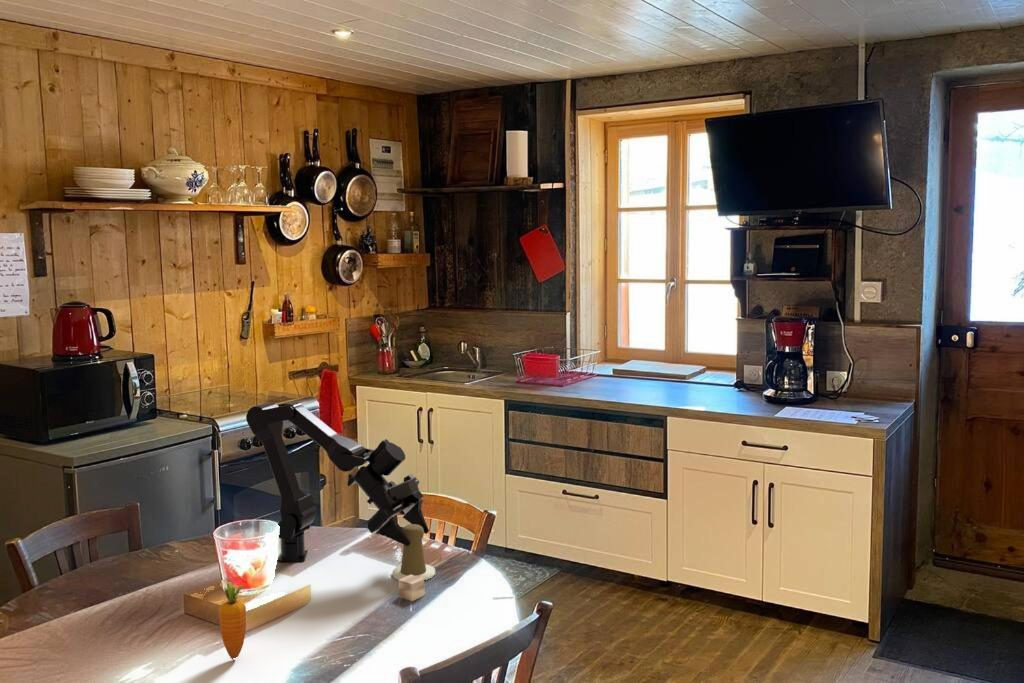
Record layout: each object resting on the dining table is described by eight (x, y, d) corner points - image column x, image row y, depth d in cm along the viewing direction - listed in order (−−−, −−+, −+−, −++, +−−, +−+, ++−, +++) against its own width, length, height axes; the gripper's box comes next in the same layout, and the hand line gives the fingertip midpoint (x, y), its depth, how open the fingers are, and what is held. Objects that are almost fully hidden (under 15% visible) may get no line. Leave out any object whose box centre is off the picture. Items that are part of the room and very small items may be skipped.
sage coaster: (393, 567, 216) (393, 564, 216) (435, 565, 217) (435, 562, 217) (391, 583, 206) (391, 579, 206) (435, 581, 207) (435, 578, 207)
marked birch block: (398, 597, 198) (398, 579, 198) (410, 591, 201) (410, 574, 201) (412, 601, 196) (412, 584, 195) (424, 595, 199) (424, 578, 198)
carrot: (223, 654, 171) (220, 578, 169) (250, 653, 171) (247, 577, 169) (217, 666, 166) (214, 589, 164) (245, 665, 166) (242, 588, 165)
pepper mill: (425, 565, 215) (424, 521, 213) (427, 574, 209) (426, 529, 207) (399, 567, 214) (399, 522, 212) (401, 576, 208) (400, 530, 206)
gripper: (377, 476, 201) (421, 530, 198) (416, 457, 218) (457, 506, 216) (347, 506, 205) (391, 559, 202) (388, 485, 222) (428, 534, 219)
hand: (418, 538), depth 210 cm, fingers open, 9 cm apart
